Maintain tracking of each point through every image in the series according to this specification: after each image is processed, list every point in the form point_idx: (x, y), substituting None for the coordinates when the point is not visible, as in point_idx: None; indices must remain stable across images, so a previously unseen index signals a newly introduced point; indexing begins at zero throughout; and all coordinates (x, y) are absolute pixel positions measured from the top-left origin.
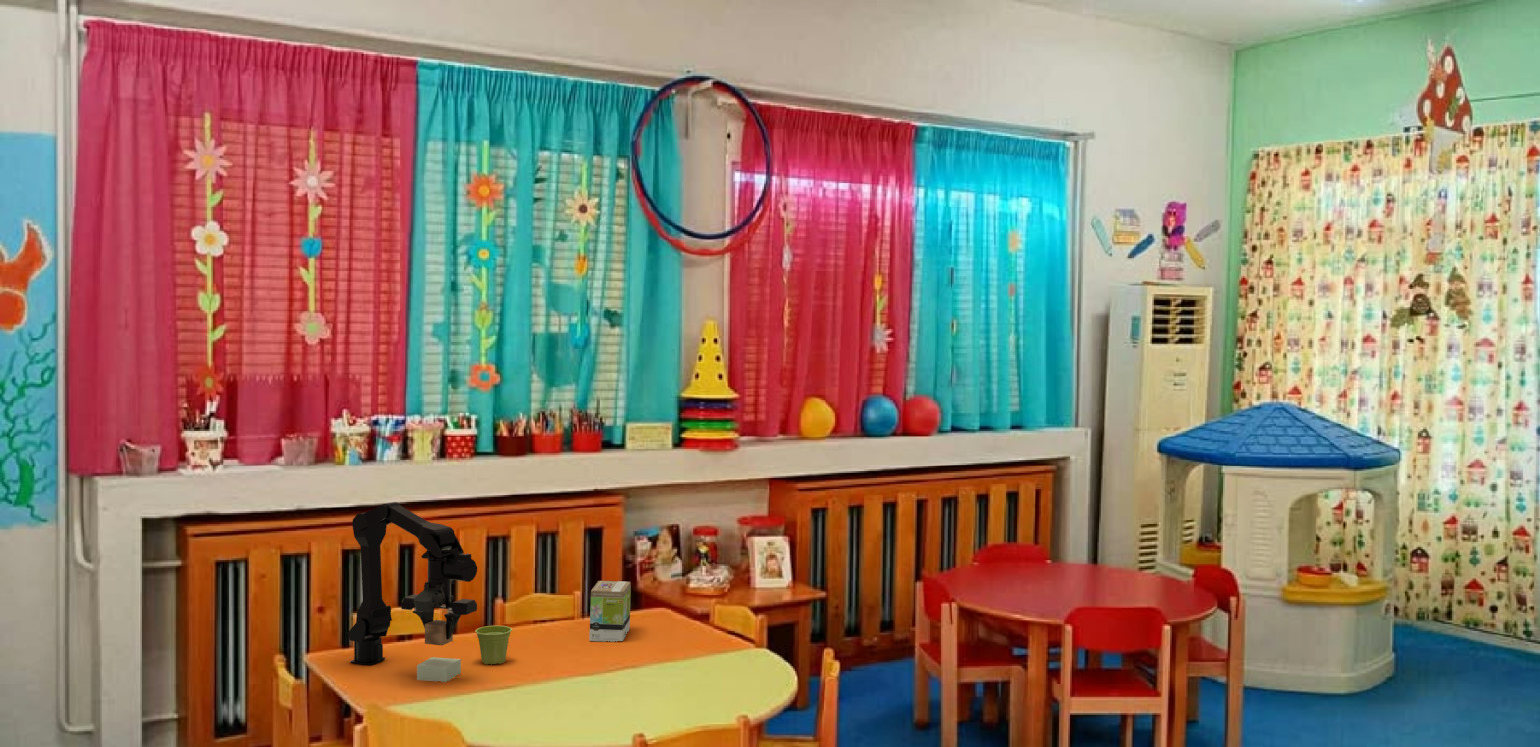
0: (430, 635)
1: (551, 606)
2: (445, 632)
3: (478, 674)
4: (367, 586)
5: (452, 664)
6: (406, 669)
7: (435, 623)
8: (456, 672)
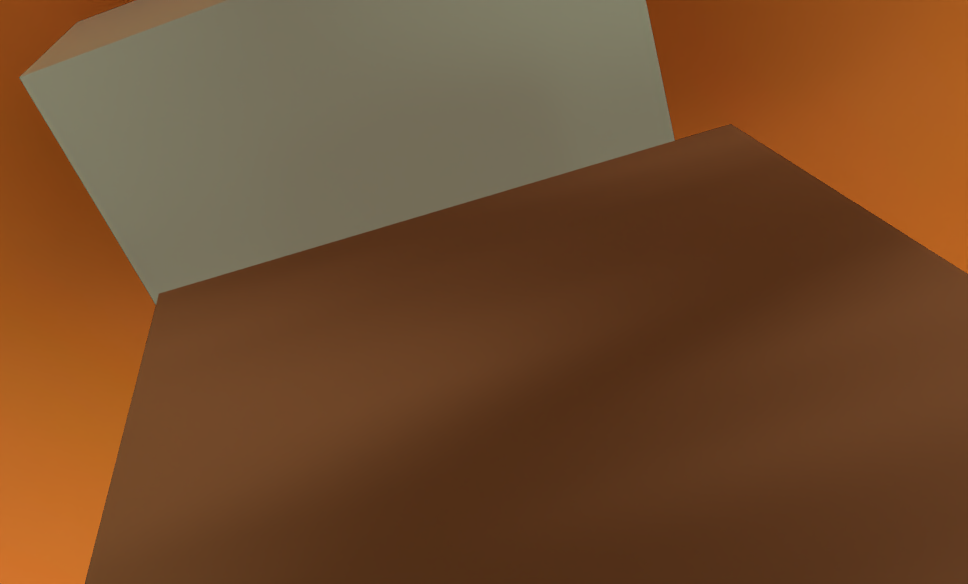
0: (649, 303)
1: None
2: None
3: (86, 498)
4: None
5: (152, 293)
6: (950, 139)
7: None
8: None
